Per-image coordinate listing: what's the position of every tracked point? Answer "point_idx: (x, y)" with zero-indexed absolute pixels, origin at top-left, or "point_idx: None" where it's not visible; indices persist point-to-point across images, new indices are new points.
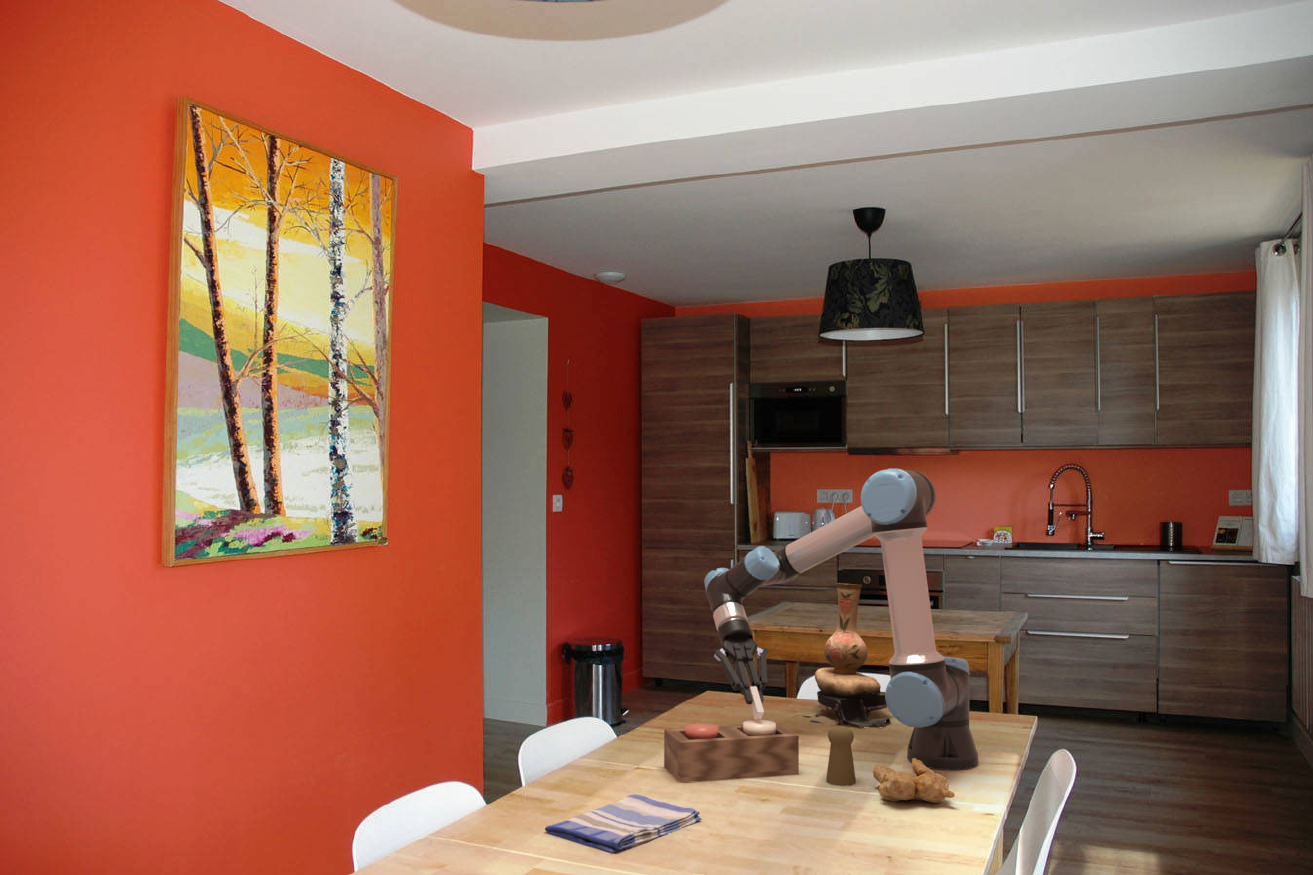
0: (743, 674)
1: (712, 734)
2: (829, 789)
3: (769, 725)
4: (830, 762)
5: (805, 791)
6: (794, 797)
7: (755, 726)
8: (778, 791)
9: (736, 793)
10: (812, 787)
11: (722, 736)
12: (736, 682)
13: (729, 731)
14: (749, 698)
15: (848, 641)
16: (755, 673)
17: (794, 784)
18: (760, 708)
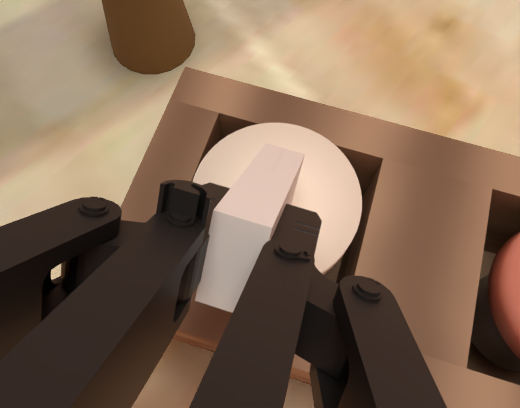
0: (271, 323)
1: None
2: (235, 9)
3: (262, 139)
4: (178, 2)
5: (303, 25)
6: (361, 5)
7: (336, 156)
8: (368, 56)
9: (487, 95)
10: (262, 39)
11: (483, 234)
12: (388, 298)
13: (415, 276)
14: (305, 217)
15: None
16: (114, 279)
17: (286, 79)
18: (278, 153)
